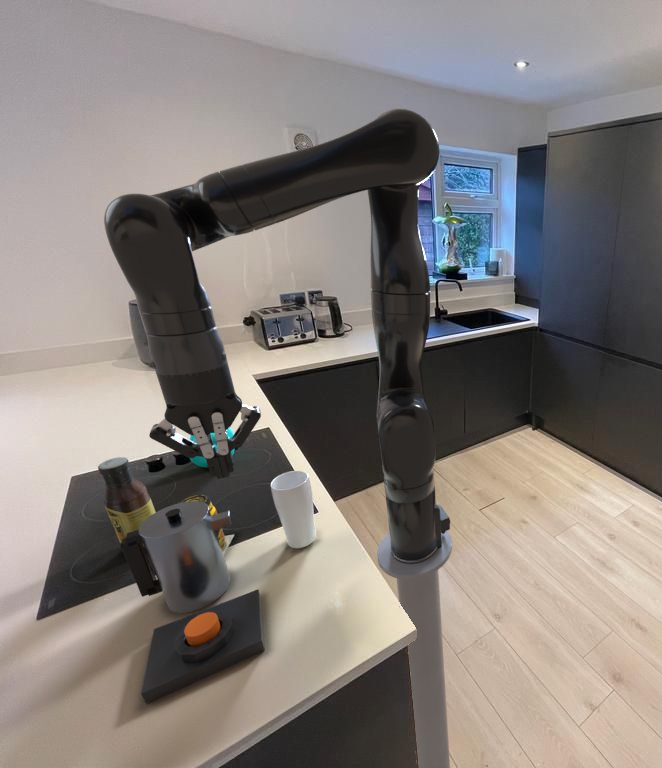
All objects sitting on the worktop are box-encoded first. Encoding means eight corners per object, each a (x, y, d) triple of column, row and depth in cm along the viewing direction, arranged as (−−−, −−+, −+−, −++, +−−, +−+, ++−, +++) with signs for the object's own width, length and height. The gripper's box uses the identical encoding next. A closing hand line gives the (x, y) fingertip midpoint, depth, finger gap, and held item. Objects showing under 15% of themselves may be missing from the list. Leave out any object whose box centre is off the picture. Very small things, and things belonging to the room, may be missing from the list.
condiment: (220, 561, 77) (204, 511, 73) (169, 568, 75) (149, 517, 71) (235, 535, 84) (221, 487, 80) (188, 541, 82) (172, 493, 78)
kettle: (246, 558, 78) (225, 485, 72) (247, 591, 71) (224, 513, 65) (153, 590, 71) (121, 511, 65) (144, 630, 64) (107, 546, 58)
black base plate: (261, 598, 70) (256, 581, 68) (264, 650, 61) (259, 632, 60) (158, 638, 63) (150, 620, 61) (146, 704, 54) (136, 685, 53)
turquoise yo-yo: (193, 474, 104) (182, 440, 100) (195, 456, 112) (185, 425, 108) (238, 463, 109) (229, 431, 106) (237, 447, 117) (229, 416, 113)
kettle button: (221, 617, 62) (217, 607, 62) (220, 637, 59) (216, 627, 59) (189, 629, 60) (185, 620, 60) (186, 651, 57) (182, 641, 57)
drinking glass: (327, 535, 84) (316, 475, 79) (299, 557, 79) (286, 494, 73) (305, 525, 87) (293, 466, 82) (276, 545, 81) (261, 484, 76)
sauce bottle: (125, 543, 81) (90, 459, 74) (165, 529, 85) (135, 448, 78) (123, 562, 76) (86, 475, 69) (165, 547, 80) (134, 463, 73)
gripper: (250, 349, 58) (273, 451, 65) (130, 363, 51) (169, 476, 58) (252, 363, 52) (277, 474, 59) (117, 380, 46) (162, 504, 52)
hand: (223, 475), depth 58 cm, fingers closed
